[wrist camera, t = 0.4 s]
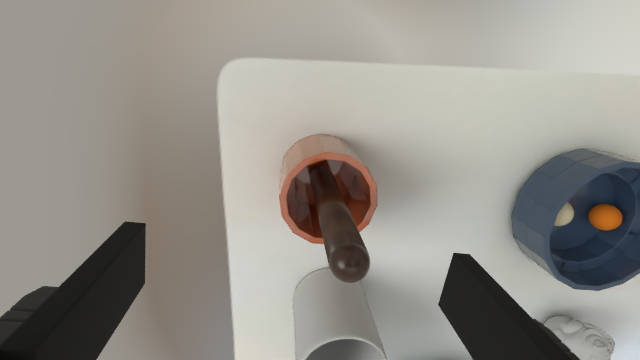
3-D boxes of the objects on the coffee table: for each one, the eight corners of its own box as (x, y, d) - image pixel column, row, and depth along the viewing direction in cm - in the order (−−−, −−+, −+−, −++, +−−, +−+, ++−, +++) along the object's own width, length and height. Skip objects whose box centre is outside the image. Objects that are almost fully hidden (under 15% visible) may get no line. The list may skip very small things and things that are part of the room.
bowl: (531, 141, 39) (573, 154, 33) (644, 155, 40) (703, 170, 35) (494, 256, 43) (526, 286, 37) (598, 264, 45) (643, 294, 39)
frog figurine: (582, 327, 48) (629, 369, 41) (533, 349, 48) (573, 394, 41) (572, 294, 46) (621, 332, 39) (522, 316, 46) (562, 359, 40)
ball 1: (540, 193, 40) (559, 203, 37) (563, 196, 40) (584, 206, 38) (531, 217, 41) (550, 229, 38) (555, 220, 41) (575, 231, 38)
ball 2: (587, 198, 41) (609, 208, 38) (610, 201, 41) (634, 211, 38) (578, 222, 42) (599, 234, 39) (600, 224, 42) (623, 236, 39)
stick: (310, 162, 36) (335, 252, 19) (333, 164, 37) (378, 255, 19) (307, 184, 37) (328, 290, 20) (330, 186, 37) (370, 292, 20)
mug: (289, 270, 41) (292, 341, 30) (363, 263, 41) (390, 330, 31) (297, 353, 44) (301, 442, 34) (364, 345, 45) (388, 430, 35)
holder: (284, 129, 36) (284, 147, 28) (365, 139, 37) (386, 159, 29) (276, 205, 38) (274, 240, 31) (352, 212, 39) (368, 248, 32)
